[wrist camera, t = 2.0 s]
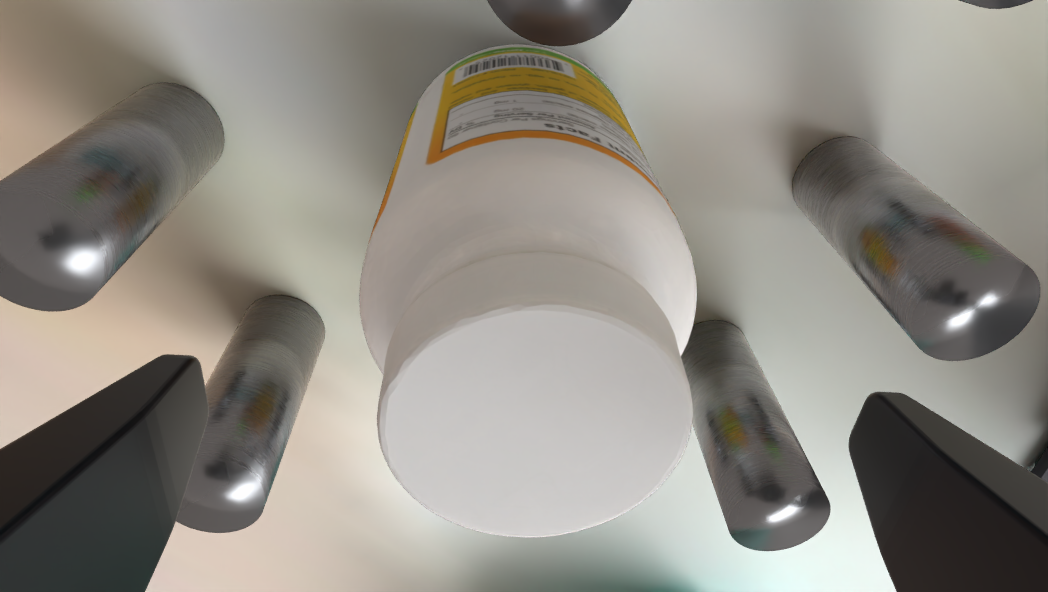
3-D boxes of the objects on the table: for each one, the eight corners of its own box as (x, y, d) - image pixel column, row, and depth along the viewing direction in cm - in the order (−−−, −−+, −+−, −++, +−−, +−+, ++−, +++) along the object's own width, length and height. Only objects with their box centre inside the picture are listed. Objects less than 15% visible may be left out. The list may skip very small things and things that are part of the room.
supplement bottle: (514, 289, 19) (527, 621, 11) (358, 153, 17) (225, 438, 9) (674, 157, 17) (837, 436, 9) (521, -16, 15) (550, 143, 7)
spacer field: (1007, -152, 14) (1299, -155, 9) (800, 386, 21) (897, 555, 16) (43, -261, 13) (-266, -339, 7) (175, 354, 20) (64, 527, 15)
